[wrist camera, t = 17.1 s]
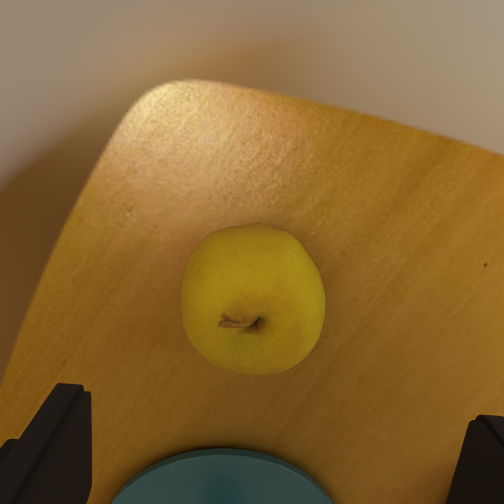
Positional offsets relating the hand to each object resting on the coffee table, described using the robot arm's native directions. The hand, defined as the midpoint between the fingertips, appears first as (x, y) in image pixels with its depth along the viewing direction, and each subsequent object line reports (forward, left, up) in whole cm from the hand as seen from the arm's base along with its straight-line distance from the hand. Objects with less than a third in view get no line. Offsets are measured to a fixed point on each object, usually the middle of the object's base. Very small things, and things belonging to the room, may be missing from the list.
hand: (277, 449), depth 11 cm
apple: (0, 0, -14) cm, 14 cm away
